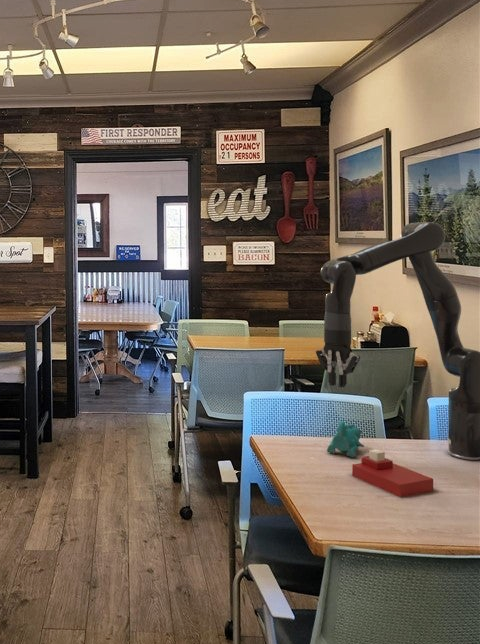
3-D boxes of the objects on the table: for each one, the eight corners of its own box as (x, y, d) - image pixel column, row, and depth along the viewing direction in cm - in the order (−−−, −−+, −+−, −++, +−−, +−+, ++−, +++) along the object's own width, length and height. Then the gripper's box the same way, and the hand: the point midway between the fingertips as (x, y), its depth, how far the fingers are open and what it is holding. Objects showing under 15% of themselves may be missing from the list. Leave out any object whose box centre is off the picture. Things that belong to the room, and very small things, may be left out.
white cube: (376, 458, 173) (376, 449, 173) (384, 461, 171) (384, 452, 171) (369, 459, 172) (369, 450, 172) (377, 462, 170) (377, 453, 170)
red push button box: (384, 470, 176) (384, 453, 176) (433, 491, 162) (433, 471, 162) (352, 475, 172) (352, 457, 172) (399, 497, 157) (400, 477, 157)
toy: (352, 466, 184) (381, 440, 191) (332, 430, 185) (361, 405, 193) (328, 466, 193) (356, 441, 200) (308, 431, 194) (337, 408, 202)
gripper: (366, 329, 179) (366, 389, 178) (323, 324, 190) (323, 380, 190) (352, 331, 174) (352, 392, 174) (309, 326, 185) (309, 383, 185)
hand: (337, 385), depth 182 cm, fingers closed
